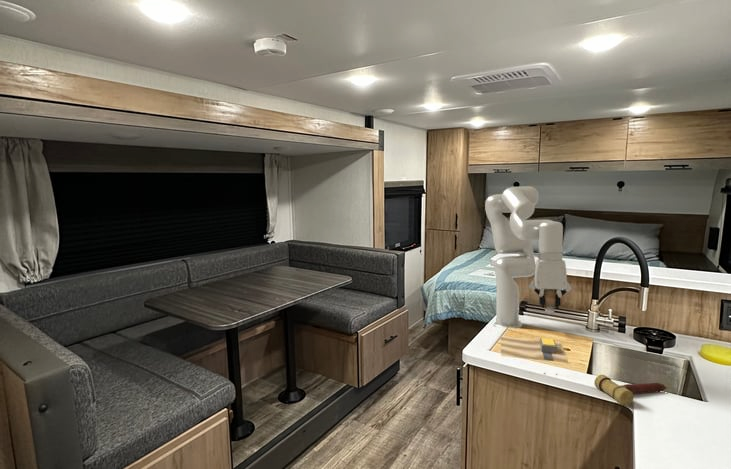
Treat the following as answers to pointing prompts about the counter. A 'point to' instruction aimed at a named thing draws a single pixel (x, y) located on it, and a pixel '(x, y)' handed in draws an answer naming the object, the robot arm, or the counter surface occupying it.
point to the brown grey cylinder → (549, 300)
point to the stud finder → (548, 345)
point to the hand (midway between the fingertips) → (549, 306)
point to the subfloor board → (530, 349)
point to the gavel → (625, 389)
